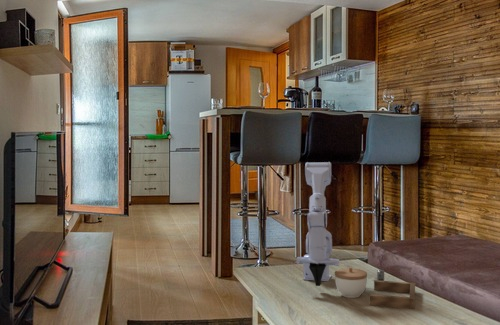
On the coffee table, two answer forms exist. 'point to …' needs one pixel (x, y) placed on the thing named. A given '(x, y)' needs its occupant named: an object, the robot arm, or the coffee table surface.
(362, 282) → the lidded jar
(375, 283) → the walnut shelf
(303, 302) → the coffee table surface
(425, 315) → the coffee table surface
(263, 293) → the coffee table surface
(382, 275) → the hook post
